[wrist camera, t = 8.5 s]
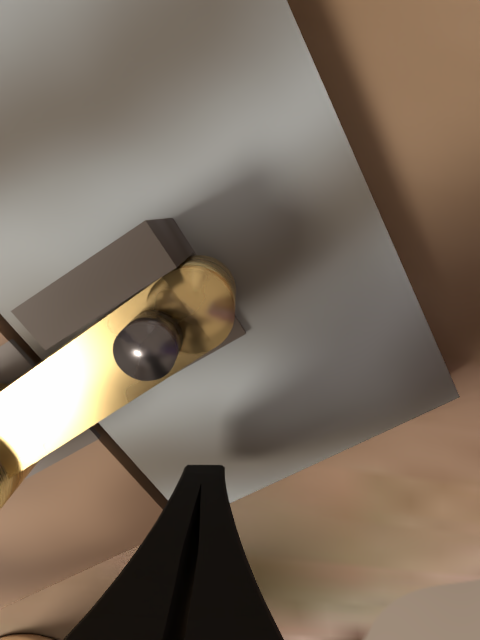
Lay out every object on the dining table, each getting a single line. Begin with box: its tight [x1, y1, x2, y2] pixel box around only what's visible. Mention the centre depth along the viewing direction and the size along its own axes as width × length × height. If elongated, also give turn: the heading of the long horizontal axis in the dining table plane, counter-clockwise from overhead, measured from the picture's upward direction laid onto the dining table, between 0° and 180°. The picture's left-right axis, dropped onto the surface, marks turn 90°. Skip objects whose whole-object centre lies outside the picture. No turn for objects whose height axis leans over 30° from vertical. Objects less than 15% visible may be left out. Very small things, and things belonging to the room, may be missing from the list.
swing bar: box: [0, 255, 236, 509], centre depth 9 cm, size 12×4×3 cm, turn 124°
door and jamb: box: [0, 0, 460, 609], centre depth 11 cm, size 18×26×4 cm
